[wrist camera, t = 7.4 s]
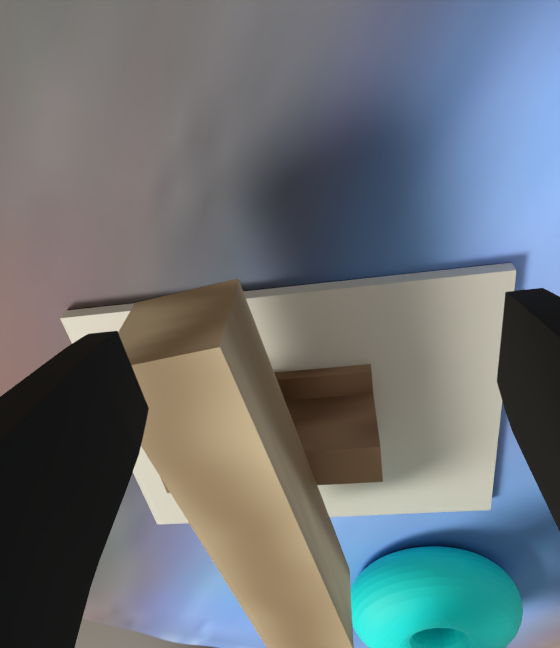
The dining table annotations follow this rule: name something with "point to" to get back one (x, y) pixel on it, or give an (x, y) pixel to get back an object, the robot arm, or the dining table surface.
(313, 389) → the block
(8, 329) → the dining table surface
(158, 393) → the bar
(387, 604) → the donuts
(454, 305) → the board
